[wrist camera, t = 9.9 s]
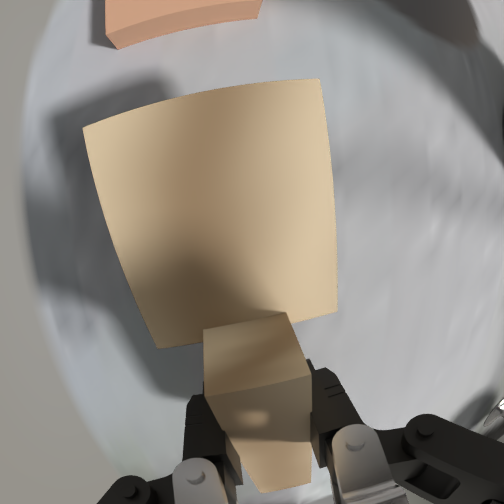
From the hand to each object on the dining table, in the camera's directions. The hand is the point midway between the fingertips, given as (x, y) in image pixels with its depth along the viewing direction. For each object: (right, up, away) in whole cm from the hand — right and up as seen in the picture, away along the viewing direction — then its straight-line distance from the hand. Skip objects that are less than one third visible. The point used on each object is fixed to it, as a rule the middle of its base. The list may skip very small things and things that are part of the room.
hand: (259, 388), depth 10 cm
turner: (0, +3, 0) cm, 3 cm away
